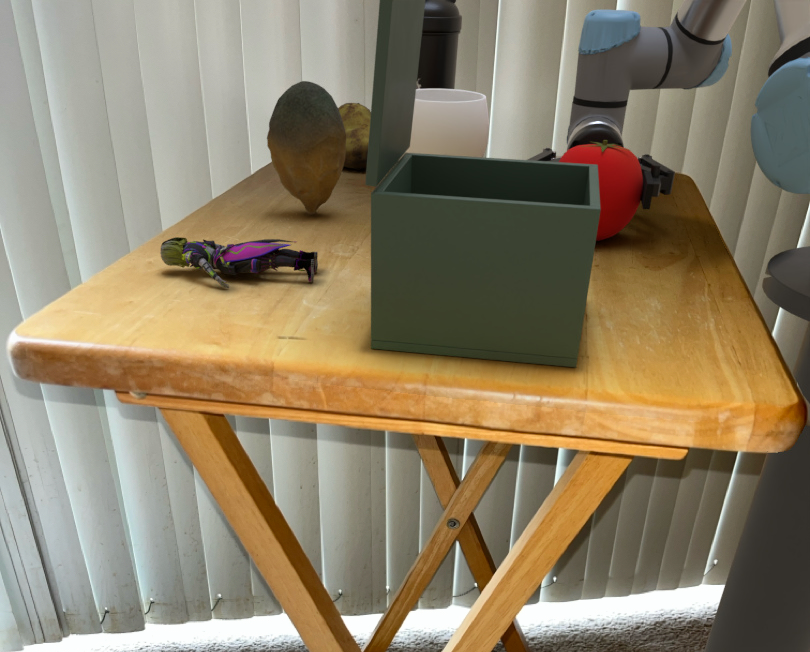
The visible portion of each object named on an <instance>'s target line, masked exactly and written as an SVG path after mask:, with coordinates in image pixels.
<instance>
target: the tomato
mask: <svg viewBox="0 0 810 652" xmlns="http://www.w3.org/2000/svg"><path fill="white" fill-rule="evenodd" d="M590 142H591V141H590ZM607 142H608V141H607V140H603V143H598V142H593V143H596V144H586V145H578V146H575V147H573V148H571V149H569V150H568V151H567V150H566V151H565V152H566V153H565V152H564V153H565V154H564V153H563V154H564V155H561V156H562V157H561V159H560V161H559V162H564V163H580V164H596V165H598V176H599V193H600V208H601V211H600V217H599V224H598V230H597V236H596V242H599V241H603V240H606V239H609V238H612V237H614V236H616V235H617V234H618V233H620V232H621V231H622V230H623V229H624V228H625V227H626V226H627V225H628V224H629V223H630V222H631V220H632V219H633V218H634V217H635V215H636V214H637V211H638V208H639V206H640V204H641V198H642V194H643V176H642V170H641V166H640V163H639V161H638V157H637V156H636V155H635V154H634V152H633V151H632V150H630V148H629V149H628V148H626V147H624V148H623V147H620V146H621V145H619V146H617V144H607Z"/></svg>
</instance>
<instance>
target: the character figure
mask: <svg viewBox="0 0 810 652" xmlns="http://www.w3.org/2000/svg"><path fill="white" fill-rule="evenodd" d="M280 242H281V243H280ZM289 243H297V241H295V240H294V241H291V240H286V239H278V238H268V239H267V238H266V239H258V240H250V241H244V242H238V243H227V244H226V245H222V244H219V243H216V242H215V240H207V239H202V241H198V240H193V241H189V240H188V239H187V238H186V237H178V236H175V237H172V238H169V239H166V240H164V241H163V242H162V243H161V245H160V251H159V255H160V258H161V260H162V261H163V263H164V264H165V265H166V266H170V267H171V266H173V267H175V266H176V267H180V268H183V269H185V267H187V268H188V267H190V268H192V267H193V268H194V269H195V270H197V271H202V270H204V272H206V273H207V274H208V275H209V276H210V277H211V279H212V280H214V281H216V282H217V283H218V284H219V285H220V286H221V287H223V288H226V289H229V288H230V285H229V284H228V282H227V280H224V279H222V278H221V277H220V276H219V275H218V274H217V272H216V271H217V270H218V271H219V272H220V273H221V274H223V275H233V276H236V275H238V274H241V273H253V274H260V273H262V272H264V271H267V270H274V271H276V272H278V269H279V268H293V271H299V272H306V274H307V280H308V282H310V283H314V279H315V273H318V268H319V262H318V260H319V259H318V255H319V254H318V251H305V250H300V249H299V251H298V250H294V249H290V248H286V247H290V246H291V244H289ZM215 270H216V271H215Z"/></svg>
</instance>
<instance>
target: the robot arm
mask: <svg viewBox="0 0 810 652" xmlns="http://www.w3.org/2000/svg"><path fill="white" fill-rule="evenodd" d="M747 1H748V0H682V2H681V4H680V6H679V8H678V10H677V12H676V14H675V16H674V17H673V19H672V21H671V23H670V25H669V26H642V25H641V20H642V19H641V15H640V13H639V12H637V11H634V10H626V9H625V10H624V9H593V10H591V11H588V13H587V14H586V15H585V17H584V19H583V24H582V28H581V33H580V39H579V43H578V50H577V53H578V54H577V65H576V74H575V84H574V85H575V86H574V95H573V98H572V101H571V102H572V103H571V108H570V109H571V110H570V117H569V125H568V127H567V135H566V151H565V152H564V153H563V155H564V154H565V153H566V152H567V151H568V150H569V149H571V148H573V147H575V146H578V145H586V144H596V143H593V142H598V143H603V140H607V141H608V142H607V144H617V146H619V145H621V146H620V147H623V148H625V143H624V141H623V132H624V131H623V130H624V124H625V119H626V111H627V107H628V102H629V98H630V91H639V90H643V91H644V90H675V89H676V90H678V89H680V90H681V89H683V90H693V89H700V88H706V87H711V86H713V85H715V84H717V83H718V82H719V81H721V80H722V78H723V77H724V76H725V74H726V73H727V71H728V69H729V66H730V64H729V61H730V58H731V57H732V55H733V44H732V39H731V36H730V34H729V32H730V31H731V29H732V27H733V26H734V23H735V22H736V20H737V18H738V16H739V15H740V13H741V12H742V9H743V8H744V7H745V4H746V2H747ZM772 2H773V7H774V14H775V20H776V25H777V30H778V32H777V33H778V38H779V44H780V47H779V49H778V50H777V51H776V53H775V55H774V56H773V58H772V59H771V61H770V62H769V64H768V66H767V77H768V78H767V79H766V81H765V82H764V83H763V85H762V87H761V89H760V90H759V92H758V94H757V97H756V99H755V103H754V106H755V108H756V109H757V111H756V112H755V113H754V114H752V116H751V118H750V119H751V120H750V142H751V147H752V152H753V155H754V157H755V161H756V163H757V165H758V167H759V170H760V171H761V172H762V174H763V175H764V176H765V177H766V179H767V180H768V181H769V182H770V183H771V184H773V185H774V186H775V187H778V188H780V189H781V190H783V191H785V192H788V193H790V194H797V195H810V0H772ZM590 141H591V142H590ZM563 155H557V151H556V150H553V149H552V148H550V147H546V148H543V149H542V152H540V153H538V154H536V155H533V156H532V157H530V158H527V159H526V160H532V161H548V162H559V161H560V159H561V157H562V156H563ZM637 159H638V161H639V163H640V166H641V170H642V176H643V194H642V198H641V201H640V204H641V208H642V210H651V205H652V201H653V199H652V198H658V197H659V196H660V194H662V195H664V196H667V195H671V194H672V191H673V184H674V180H675V175H676V172H675V171H674V170H673V169H671V168H669V167H667V166H666V165H664V164H662V163H660V162H659V161H657V160H655V159H653V156H652V155H650V154H648V153H645V154H642V155H641V156H638V157H637Z"/></svg>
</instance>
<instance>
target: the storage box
mask: <svg viewBox="0 0 810 652" xmlns="http://www.w3.org/2000/svg"><path fill="white" fill-rule="evenodd" d="M600 211H601V208H600V193H599V176H598V165H596V164H580V163H564V162H548V161H532V160H527V159H516V158H499V157H486V156H485V157H484V156H483V157H469V156H453V155H437V154H421V153H405V154H404V155H403V156H402V157H401V158H400V160H399V161H398V162H397V163H396V164H395V165H394V166H393V167H392V169H391V170H390V171H389V172H388V173H387V174H386V176H385V177H384V178H383V179H382V180H381V182H380V183H379V184H378V185H377V186H376V187H374V189H373V190H372V192H370V349H373V350H383V351H394V352H404V353H416V354H424V355H425V354H426V355H437V356H446V357H447V356H449V357H459V358H471V359H481V360H490V361H499V362H501V361H502V362H513V363H523V364H532V365H533V364H534V365H546V366H555V367H565V368H577V364H578V358H579V352H580V345H581V341H582V340H581V339H582V333H583V327H584V319H585V315H586V314H585V313H586V308H587V302H588V293H589V287H590V281H591V276H592V275H591V274H592V269H593V261H594V255H595V249H596V243H597V241H596V236H597V230H598V224H599V217H600Z"/></svg>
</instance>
